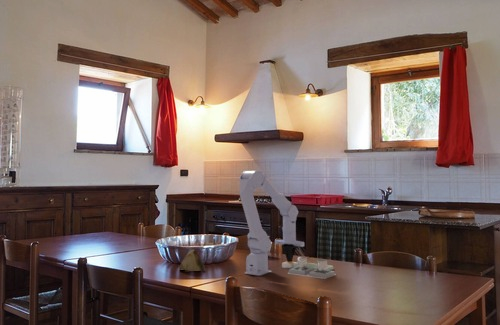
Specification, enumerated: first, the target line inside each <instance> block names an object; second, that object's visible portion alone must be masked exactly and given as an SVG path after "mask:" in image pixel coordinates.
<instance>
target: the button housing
mask: <svg viewBox="0 0 500 325" xmlns="http://www.w3.org/2000/svg"><path fill="white" fill-rule="evenodd" d="M295 264H297V262H296V261H293V263H291V264H290V263H287V261H284V262H282V263H281V268H283V269H291V268H294V265H295Z"/></svg>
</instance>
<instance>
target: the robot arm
mask: <svg viewBox="0 0 500 325" xmlns="http://www.w3.org/2000/svg"><path fill="white" fill-rule="evenodd" d="M238 180H239V190H238V192H239V197H240V200H241V205H242V208H243V212H244V216H245V220H246V222H247V226H248V229H249V232H248V234H247V235H246V236H247V241H248V246H247V247H248V248H249V250H250V253H249V254H247V255H246V260H245V272H244V275H245V274H247V275H254V276H259V277H260V276H262V275H266V274H268V273H272V272H273V271H272V270H269V264H268V261H269V258H268V257H269V250H270V249H271V248H272V241H271V239H269V238H268V236H269V235H268V233H267V232H266V231H265V230H264V229H263V227H262V224H261V220H260V219H261V218H260V216H259V212H258V208H257V205H256V200H255V198H254V197H255V196H254V193H255V192H256V190H258V189H259V187H260V188H261V189H262V190H263V191H264V192H265V193H266V194H267V195H268V196H270V197H271V202H272V203H273V204H274V206H275V207H276V208H277V209H278V210H279V214H280V216H282V239H274V244H275V245H281V249H282V250H283V252H284V255H285V258H286V262H291V261H293V257H294V254H295V252H296V250H297V248H298V247H301V248H303V247H305V242H304V241H301V240H297V234H296V233H297V232H296V231H297V230H296V229H297V227H296V226H297V225H296V223H297V222H296V221H297V218H298V214H299V210H298V208H297V206H296V205H294V204H292V202H291V201H290V200H289V199H287V197H285V196H286V195H285V193H282V192H278V191H277V190H276V189H275V187H274V186H273V185H272V184H271V183H270V181H269V180H268V179H267V176H266V175H265V174H264V173H263V172H262V171H261V170H259V169H257V170H244V171H242V172H241V174H240V176H239V177H238Z"/></svg>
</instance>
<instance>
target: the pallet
mask: <svg viewBox="0 0 500 325" xmlns="http://www.w3.org/2000/svg"><path fill="white" fill-rule="evenodd" d="M287 274H288V275H294V276H295V275H297V276H302V277H303V276H304V277H307V278H308V277H309V278H310V277H311V278H317V279H322V280H323V279H325V280H326V279H328V278H332V277H334V276H336V275H337V274H336V272H335V270H327V273H325V274H324V273H317V270H314V271H313V268H307V270H304V271H302V270H297V267H295V268H294V267H293V268H288V272H287Z"/></svg>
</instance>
